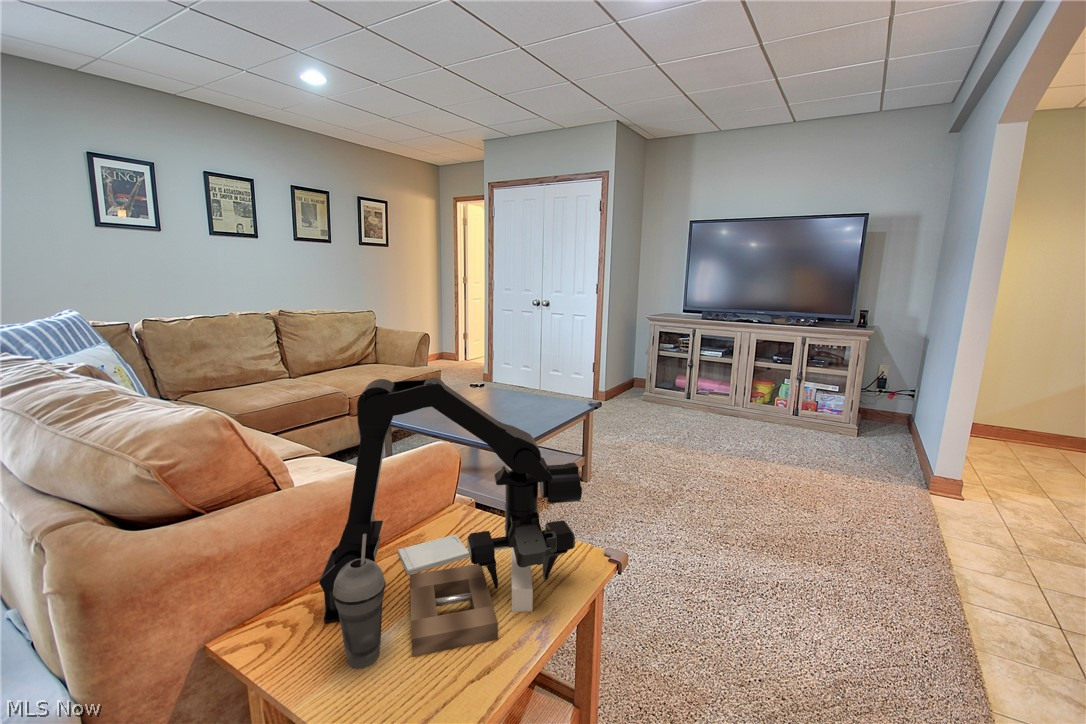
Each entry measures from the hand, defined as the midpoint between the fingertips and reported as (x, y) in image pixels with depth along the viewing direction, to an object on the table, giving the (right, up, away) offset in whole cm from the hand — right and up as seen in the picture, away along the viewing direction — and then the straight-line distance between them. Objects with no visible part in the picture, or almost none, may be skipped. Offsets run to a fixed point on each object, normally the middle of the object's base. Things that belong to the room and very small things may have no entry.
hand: (520, 583), depth 88 cm
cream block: (0, -1, 0) cm, 1 cm away
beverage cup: (-23, -4, -16) cm, 28 cm away
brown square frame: (-12, -2, -6) cm, 13 cm away
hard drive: (-18, 0, +10) cm, 21 cm away
